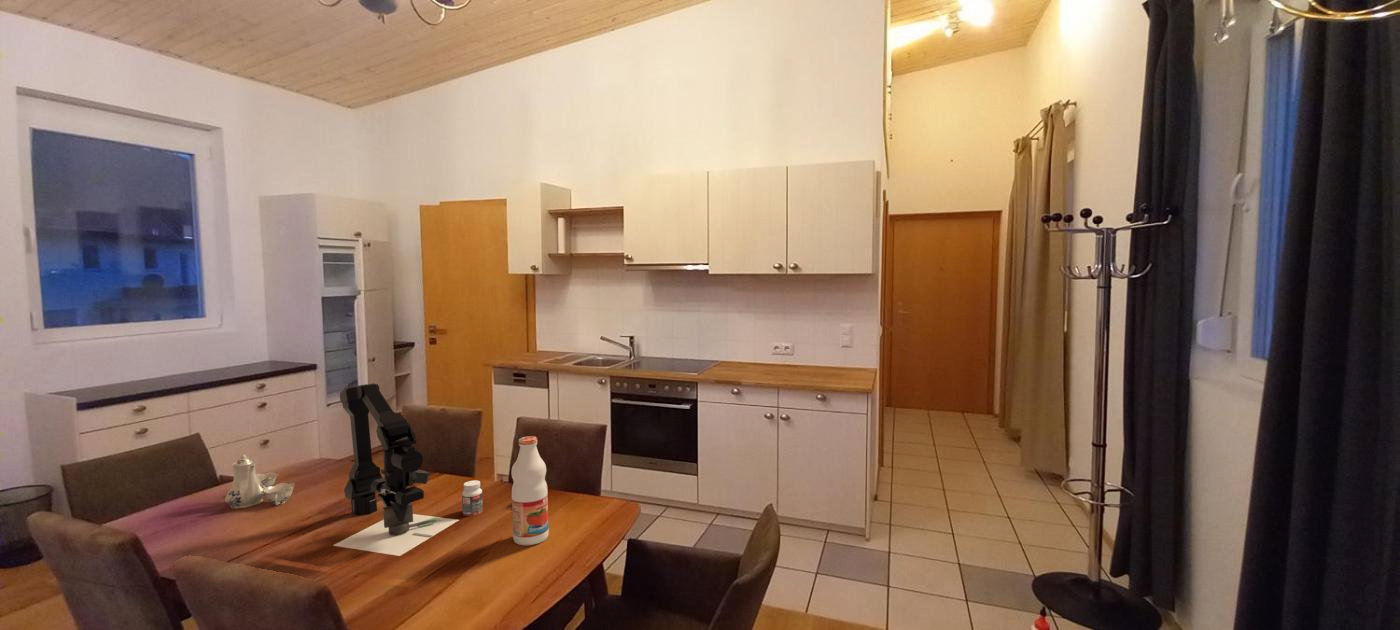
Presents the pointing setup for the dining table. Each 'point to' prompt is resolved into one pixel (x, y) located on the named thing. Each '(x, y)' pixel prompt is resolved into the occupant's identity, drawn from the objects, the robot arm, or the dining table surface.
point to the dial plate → (395, 536)
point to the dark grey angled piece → (403, 526)
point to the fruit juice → (529, 495)
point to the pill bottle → (472, 498)
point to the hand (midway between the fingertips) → (398, 519)
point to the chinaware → (255, 486)
